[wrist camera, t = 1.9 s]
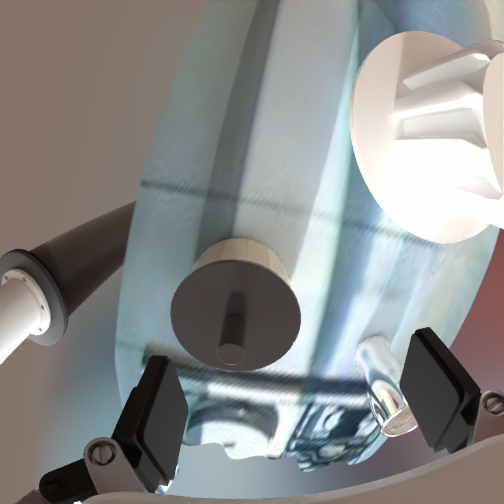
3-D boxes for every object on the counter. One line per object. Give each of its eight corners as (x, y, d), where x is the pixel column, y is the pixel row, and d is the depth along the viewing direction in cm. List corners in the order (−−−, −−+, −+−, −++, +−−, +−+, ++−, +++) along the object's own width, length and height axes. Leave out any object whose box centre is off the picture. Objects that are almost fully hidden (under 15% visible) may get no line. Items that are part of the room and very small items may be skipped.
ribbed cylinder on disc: (304, 61, 28) (350, -23, 10) (454, 45, 25) (540, 14, 7) (365, 253, 35) (444, 334, 17) (494, 201, 32) (583, 236, 14)
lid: (182, 362, 31) (170, 399, 26) (165, 257, 27) (143, 284, 21) (295, 364, 31) (301, 402, 25) (302, 256, 27) (315, 283, 21)
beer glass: (360, 330, 39) (397, 403, 25) (398, 334, 39) (440, 399, 25) (344, 366, 41) (370, 440, 27) (380, 368, 41) (412, 435, 27)
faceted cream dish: (196, 324, 39) (183, 363, 31) (187, 238, 35) (167, 263, 27) (286, 325, 39) (292, 365, 30) (289, 237, 35) (299, 262, 27)
